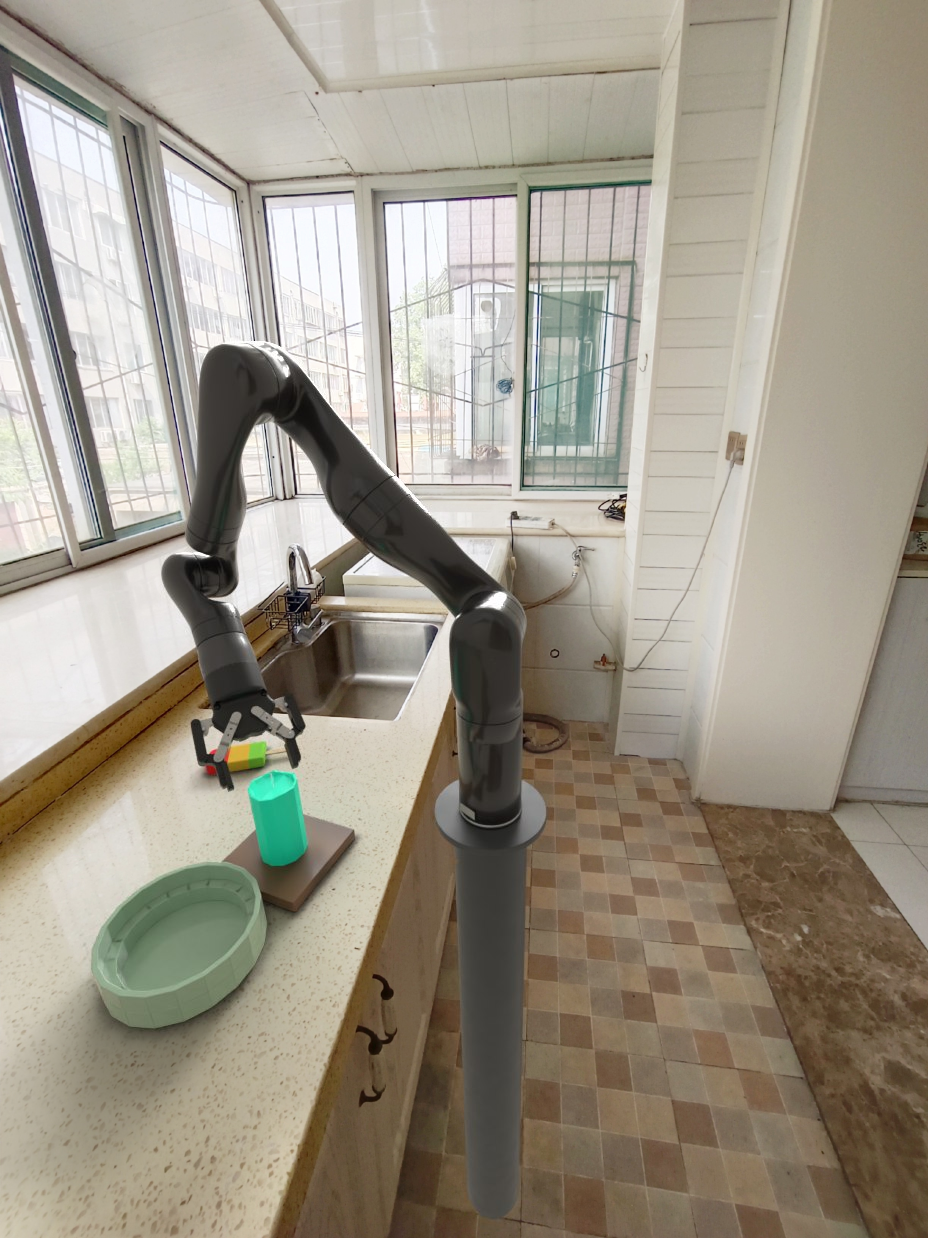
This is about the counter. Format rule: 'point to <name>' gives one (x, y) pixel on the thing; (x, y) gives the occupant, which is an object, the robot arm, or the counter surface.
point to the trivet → (294, 863)
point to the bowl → (179, 944)
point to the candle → (278, 817)
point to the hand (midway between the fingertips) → (264, 778)
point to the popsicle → (245, 756)
